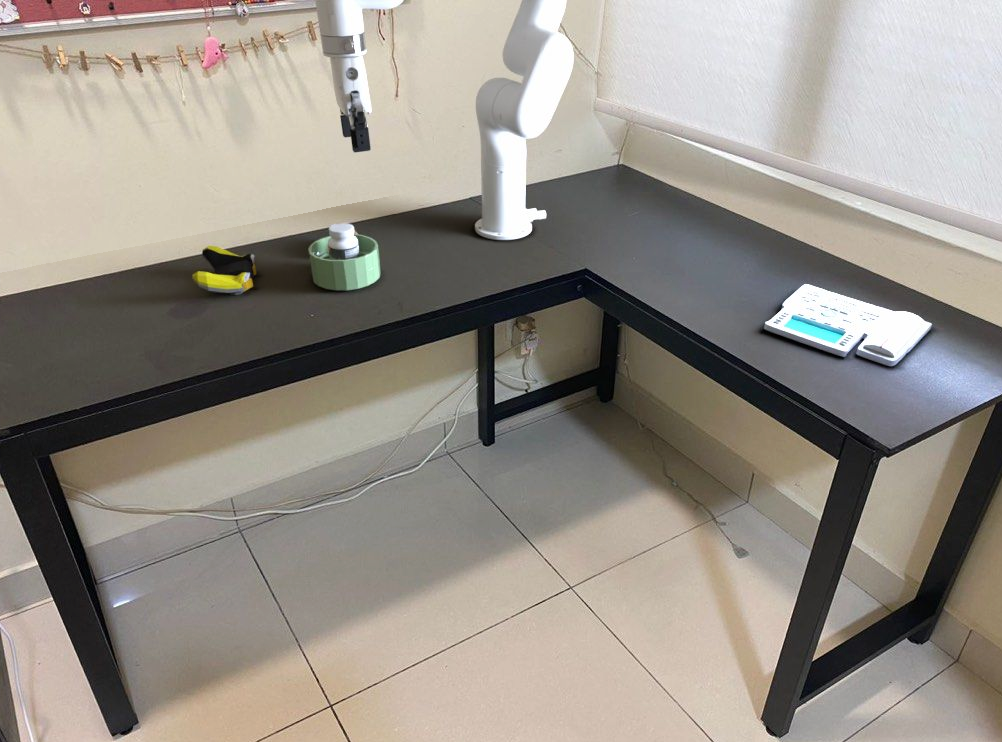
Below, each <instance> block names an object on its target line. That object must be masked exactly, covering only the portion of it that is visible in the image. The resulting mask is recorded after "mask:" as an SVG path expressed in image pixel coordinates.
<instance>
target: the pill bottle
mask: <svg viewBox="0 0 1002 742" xmlns="http://www.w3.org/2000/svg"><path fill="white" fill-rule="evenodd" d="M354 231H355V226H354V225H353V224H352V223H348V222H339V223H334V224H331V225H330V226H328V236H331V238H330V239H329V240H328V248H329V256H330V260H347V259H354V258H358V257H360V255H359V246H358V240H357V238H356V237H355V236H354Z"/></svg>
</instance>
